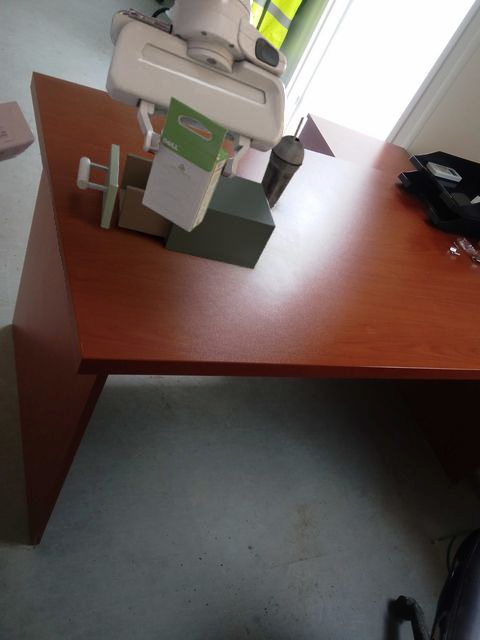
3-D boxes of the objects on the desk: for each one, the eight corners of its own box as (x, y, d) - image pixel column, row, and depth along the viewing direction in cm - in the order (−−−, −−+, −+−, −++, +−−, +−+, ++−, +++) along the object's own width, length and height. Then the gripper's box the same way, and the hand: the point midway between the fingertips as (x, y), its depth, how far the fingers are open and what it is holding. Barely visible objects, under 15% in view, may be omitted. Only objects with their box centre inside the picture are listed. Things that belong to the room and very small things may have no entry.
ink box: (203, 222, 59) (241, 122, 50) (189, 234, 56) (227, 130, 47) (156, 194, 59) (187, 88, 50) (140, 204, 56) (169, 94, 47)
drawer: (71, 220, 71) (78, 175, 66) (77, 177, 79) (83, 134, 74) (194, 249, 80) (208, 211, 74) (188, 207, 87) (201, 171, 82)
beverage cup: (284, 207, 106) (327, 125, 93) (269, 214, 101) (311, 128, 88) (261, 189, 107) (300, 105, 94) (244, 195, 102) (282, 107, 89)
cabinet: (164, 249, 78) (181, 200, 71) (161, 203, 86) (175, 156, 80) (253, 269, 85) (275, 226, 78) (242, 225, 93) (261, 183, 87)
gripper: (118, -19, 44) (97, 123, 45) (299, 64, 53) (280, 182, 53) (111, 18, 50) (92, 143, 51) (276, 87, 59) (258, 194, 59)
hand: (190, 164), depth 52 cm, fingers closed on ink box, 8 cm apart
